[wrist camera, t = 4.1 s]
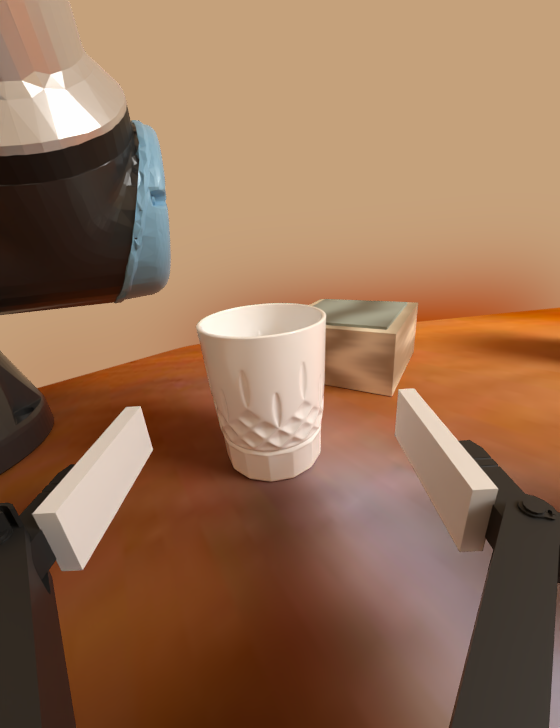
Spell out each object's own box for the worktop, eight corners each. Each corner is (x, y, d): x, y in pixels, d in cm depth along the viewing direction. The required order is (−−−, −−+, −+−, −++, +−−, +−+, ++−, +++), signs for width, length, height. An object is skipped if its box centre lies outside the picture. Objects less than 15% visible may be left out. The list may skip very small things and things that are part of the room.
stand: (279, 376, 35) (274, 321, 32) (321, 341, 44) (320, 297, 42) (391, 396, 29) (396, 331, 27) (413, 351, 38) (418, 300, 36)
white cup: (258, 511, 18) (235, 349, 14) (203, 446, 24) (177, 319, 20) (351, 452, 22) (354, 314, 18) (285, 409, 28) (276, 298, 24)
